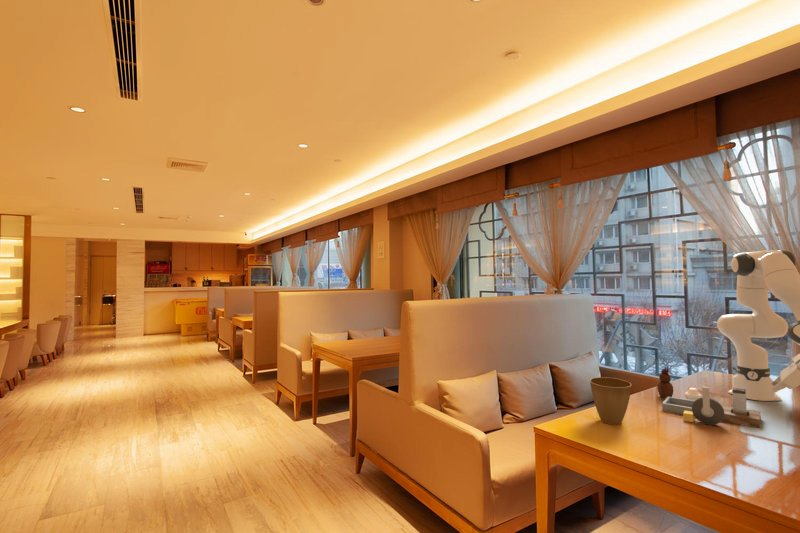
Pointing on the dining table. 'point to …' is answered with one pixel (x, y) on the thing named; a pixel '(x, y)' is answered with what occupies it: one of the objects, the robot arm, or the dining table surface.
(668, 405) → the tray
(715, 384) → the dining table surface
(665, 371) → the wooden figurine
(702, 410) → the grey disc with lever
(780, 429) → the dining table surface
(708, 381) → the dining table surface
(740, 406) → the pin
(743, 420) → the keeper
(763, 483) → the dining table surface
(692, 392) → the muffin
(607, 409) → the plant pot
